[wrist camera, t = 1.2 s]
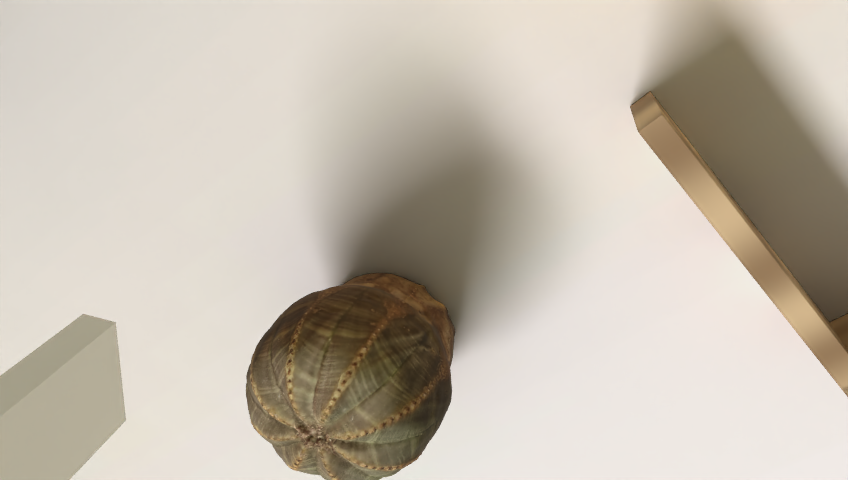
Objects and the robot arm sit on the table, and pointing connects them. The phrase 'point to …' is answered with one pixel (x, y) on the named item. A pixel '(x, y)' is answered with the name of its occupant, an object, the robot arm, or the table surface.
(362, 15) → the table surface
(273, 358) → the shell
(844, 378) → the corral
